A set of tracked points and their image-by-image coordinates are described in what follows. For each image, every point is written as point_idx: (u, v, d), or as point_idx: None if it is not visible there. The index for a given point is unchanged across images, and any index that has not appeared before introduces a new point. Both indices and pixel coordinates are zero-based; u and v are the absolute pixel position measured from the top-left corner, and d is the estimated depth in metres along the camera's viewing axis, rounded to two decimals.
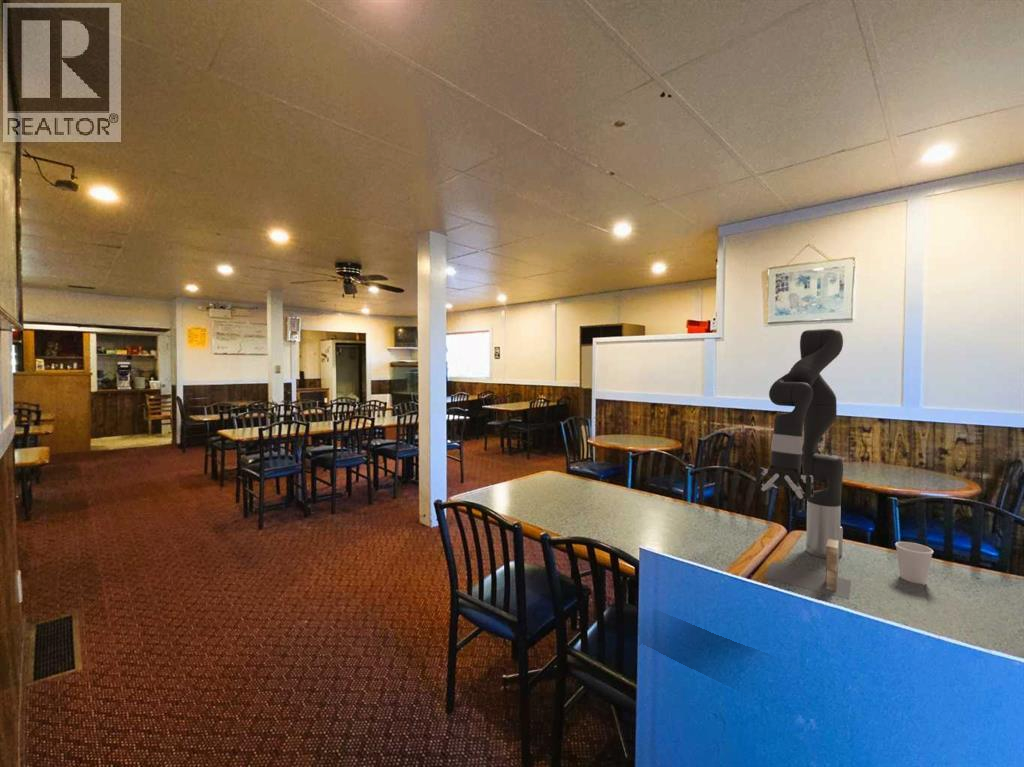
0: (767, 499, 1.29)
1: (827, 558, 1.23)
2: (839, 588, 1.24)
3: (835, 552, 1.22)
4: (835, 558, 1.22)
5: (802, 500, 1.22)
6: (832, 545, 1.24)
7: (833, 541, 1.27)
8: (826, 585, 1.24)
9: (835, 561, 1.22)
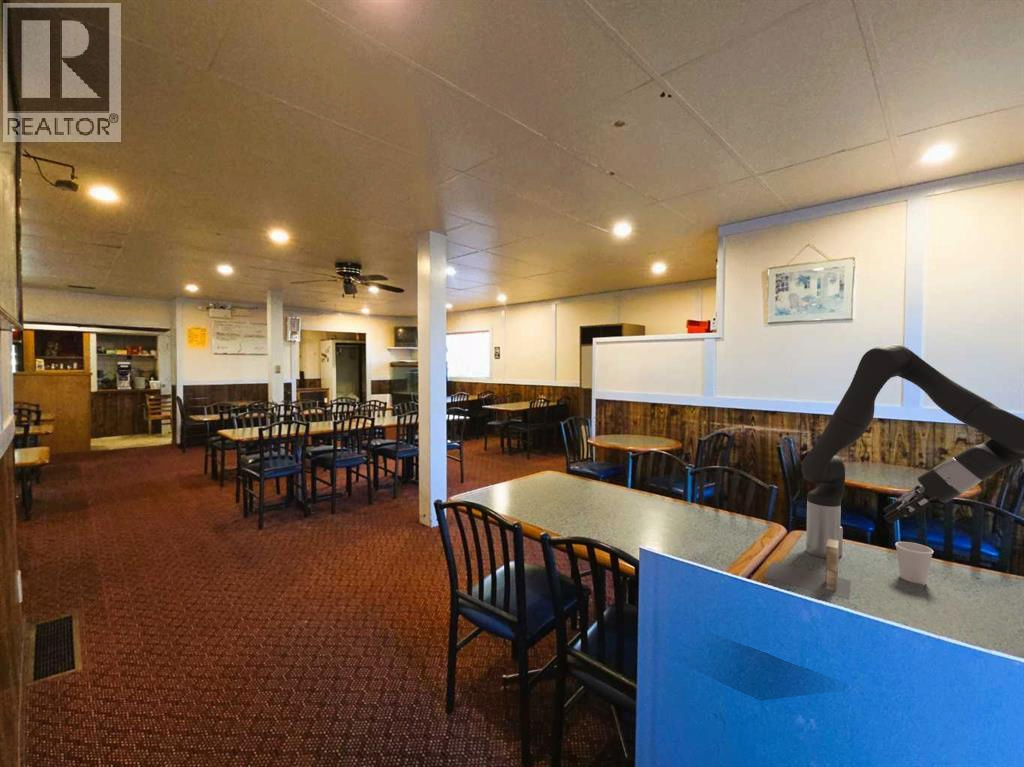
0: None
1: (827, 558, 1.23)
2: (839, 588, 1.24)
3: (835, 552, 1.22)
4: (835, 558, 1.22)
5: None
6: (832, 545, 1.24)
7: (833, 541, 1.27)
8: (826, 585, 1.24)
9: (835, 561, 1.22)
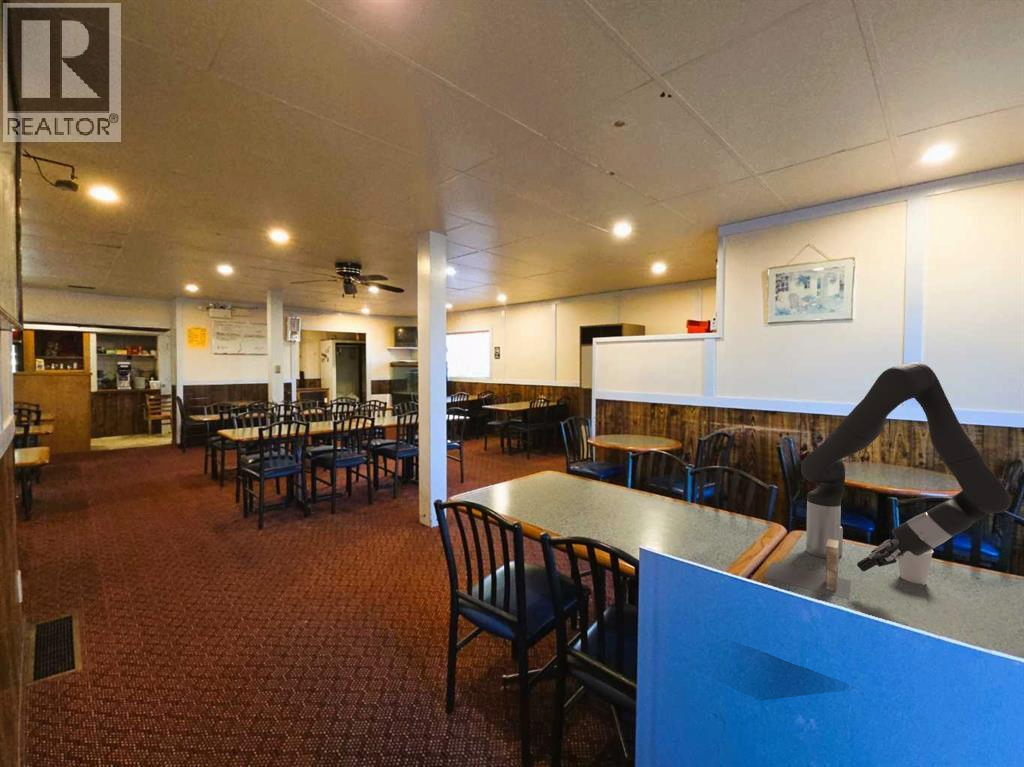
0: None
1: (827, 558, 1.23)
2: (839, 588, 1.24)
3: (835, 552, 1.22)
4: (835, 558, 1.22)
5: None
6: (832, 545, 1.24)
7: (833, 541, 1.27)
8: (826, 585, 1.24)
9: (835, 561, 1.22)
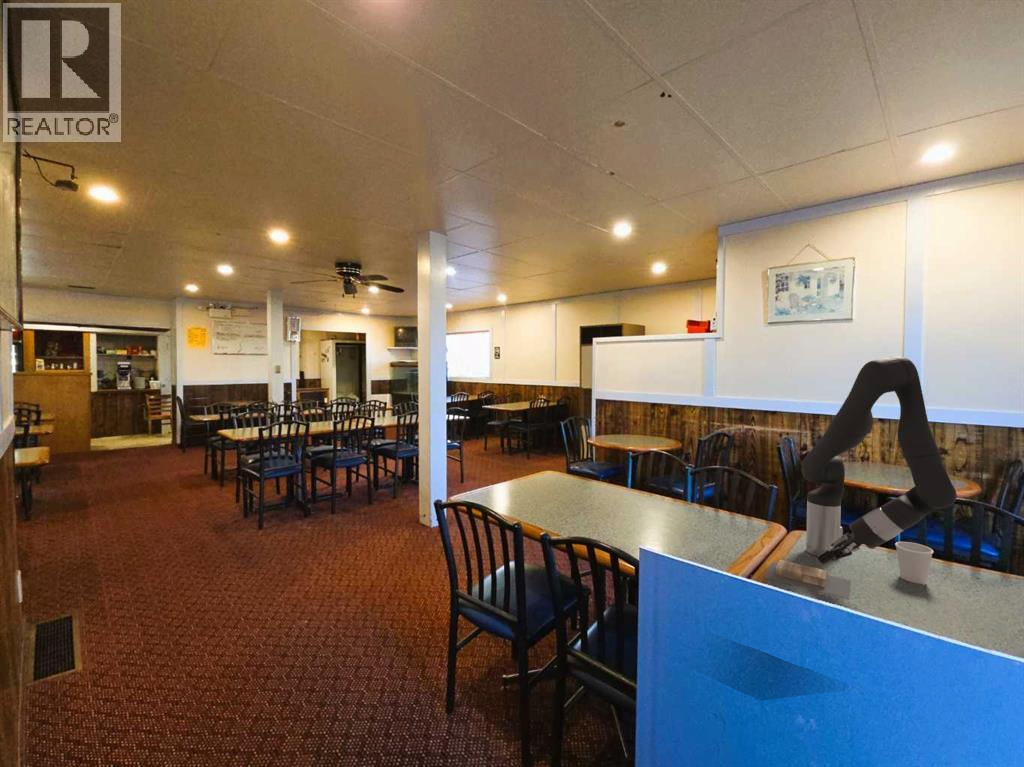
0: None
1: (789, 577, 1.29)
2: (839, 588, 1.24)
3: (780, 569, 1.31)
4: (787, 571, 1.30)
5: None
6: None
7: None
8: (821, 586, 1.25)
9: (790, 572, 1.29)
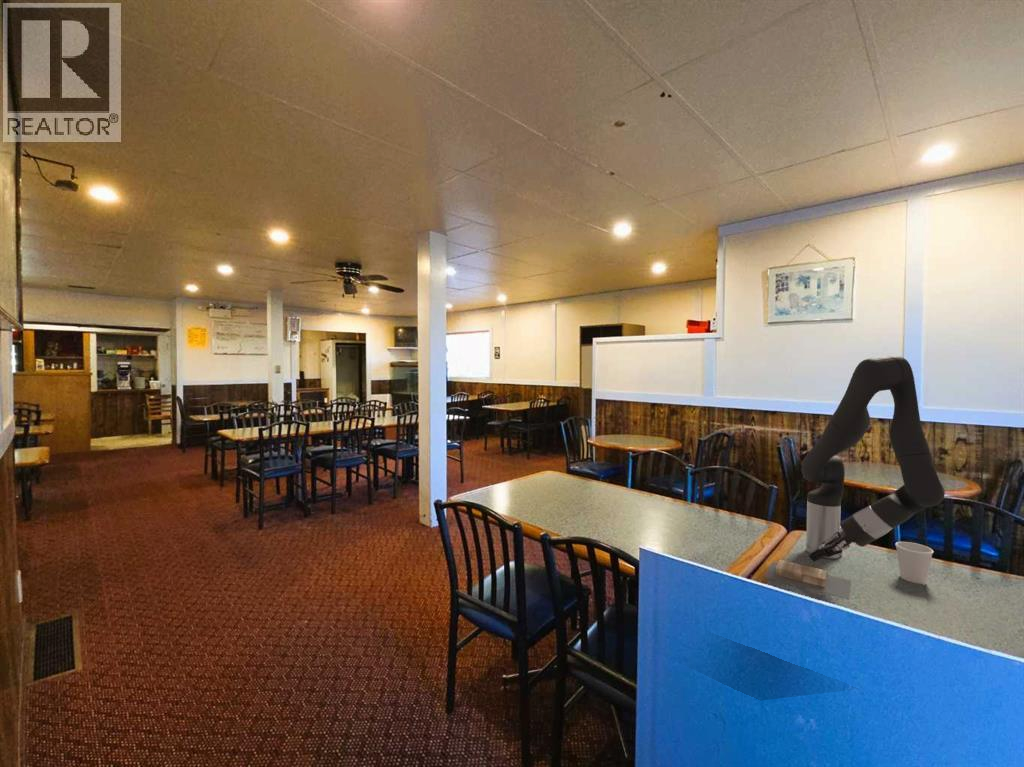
0: None
1: (789, 577, 1.29)
2: (839, 588, 1.24)
3: (780, 569, 1.31)
4: (787, 571, 1.30)
5: None
6: None
7: None
8: (821, 586, 1.25)
9: (790, 572, 1.29)
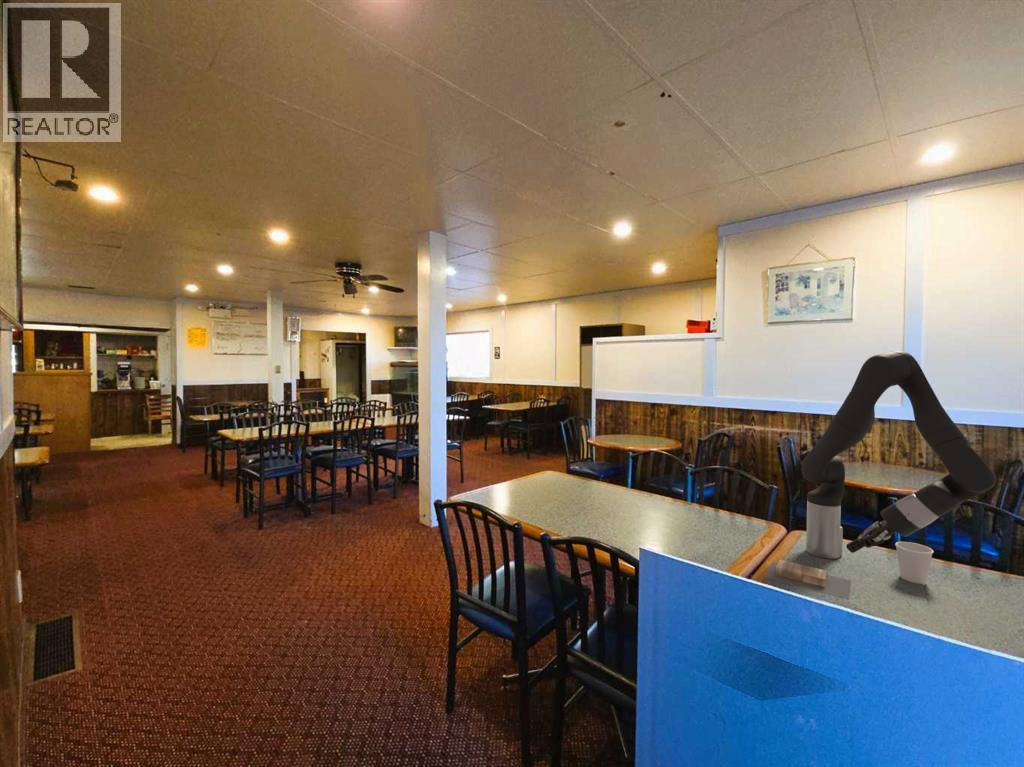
0: None
1: (789, 577, 1.29)
2: (839, 588, 1.24)
3: (780, 569, 1.31)
4: (787, 571, 1.30)
5: None
6: None
7: None
8: (821, 586, 1.25)
9: (790, 572, 1.29)
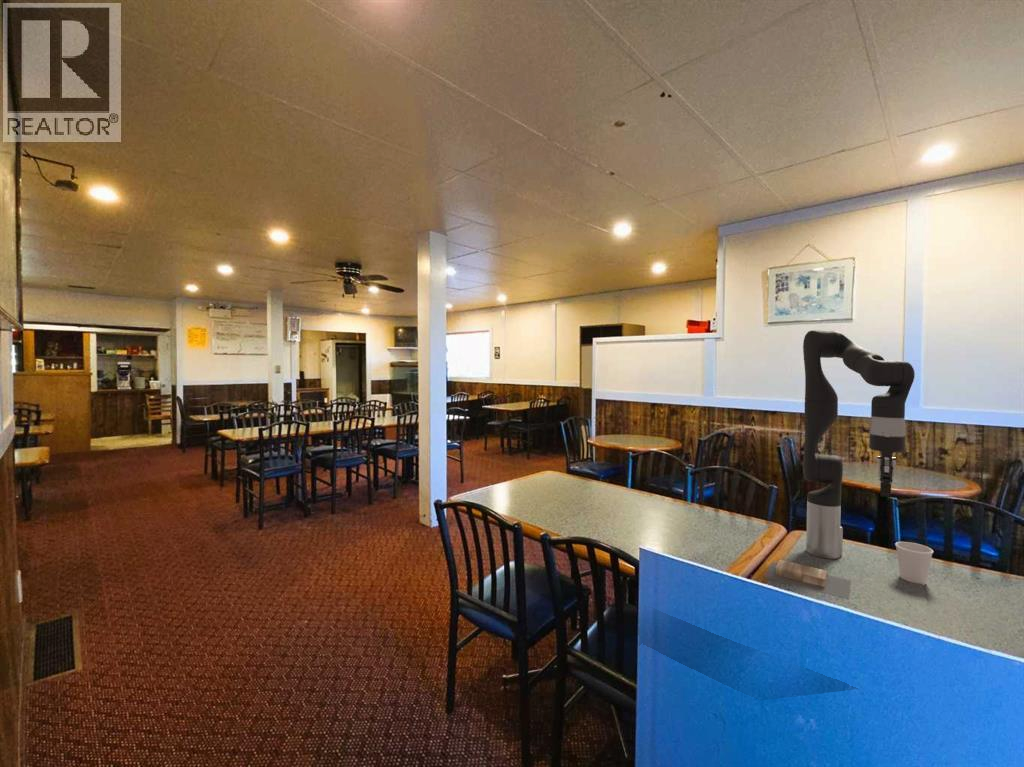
0: None
1: (789, 577, 1.29)
2: (839, 588, 1.24)
3: (780, 569, 1.31)
4: (787, 571, 1.30)
5: None
6: None
7: None
8: (821, 586, 1.25)
9: (790, 572, 1.29)
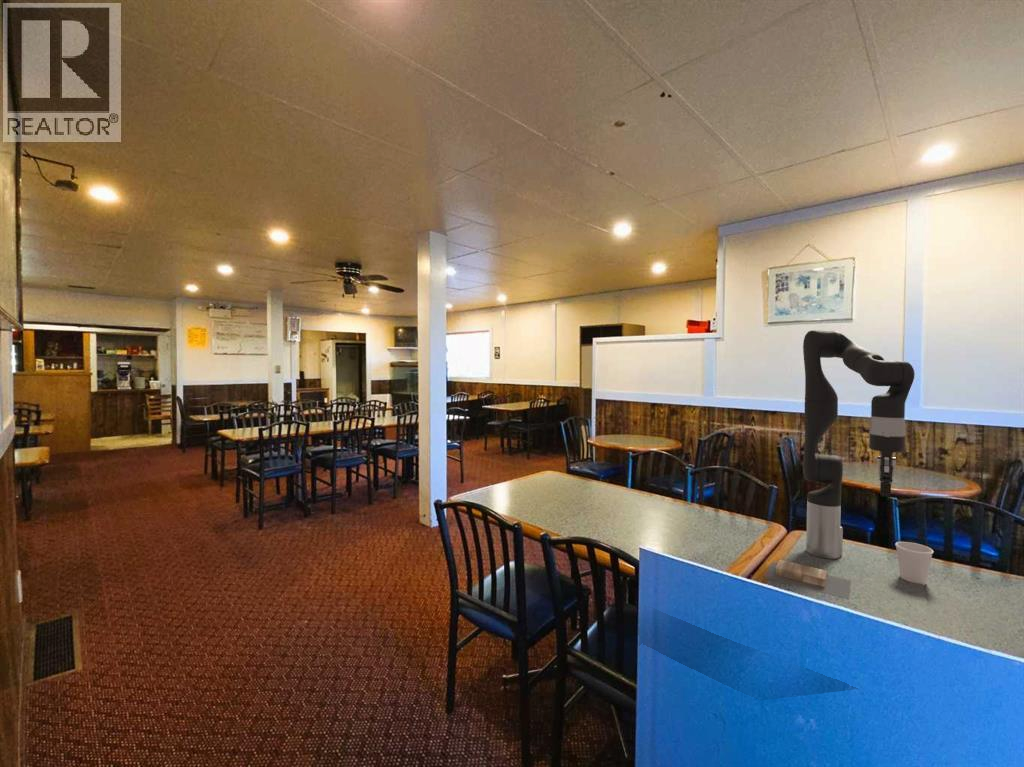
0: None
1: (789, 577, 1.29)
2: (839, 588, 1.24)
3: (780, 569, 1.31)
4: (787, 571, 1.30)
5: None
6: None
7: None
8: (821, 586, 1.25)
9: (790, 572, 1.29)
